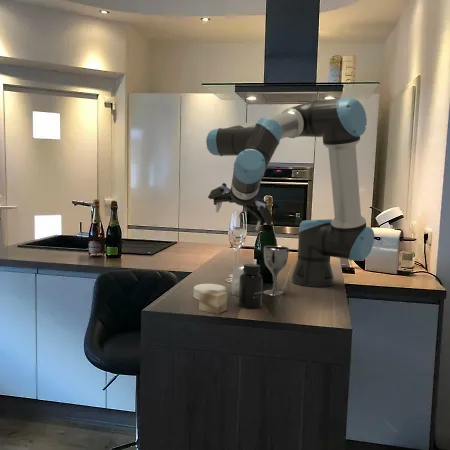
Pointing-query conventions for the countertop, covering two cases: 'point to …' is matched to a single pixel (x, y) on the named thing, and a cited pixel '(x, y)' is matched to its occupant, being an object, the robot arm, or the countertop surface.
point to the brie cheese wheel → (205, 287)
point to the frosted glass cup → (236, 278)
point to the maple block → (213, 301)
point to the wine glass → (275, 264)
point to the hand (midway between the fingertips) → (238, 217)
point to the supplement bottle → (250, 287)
